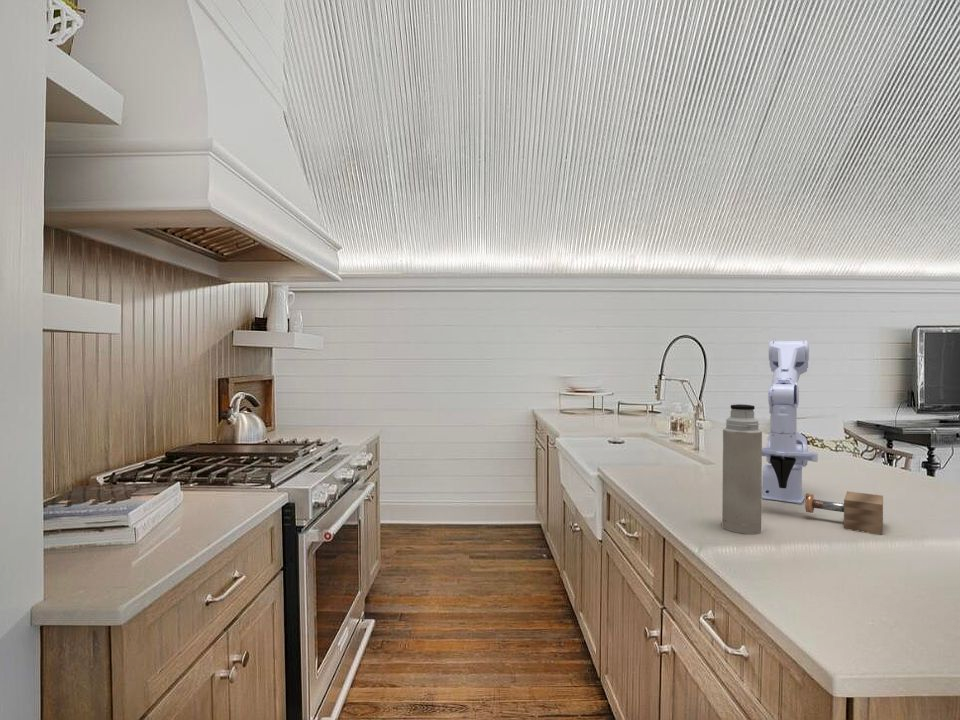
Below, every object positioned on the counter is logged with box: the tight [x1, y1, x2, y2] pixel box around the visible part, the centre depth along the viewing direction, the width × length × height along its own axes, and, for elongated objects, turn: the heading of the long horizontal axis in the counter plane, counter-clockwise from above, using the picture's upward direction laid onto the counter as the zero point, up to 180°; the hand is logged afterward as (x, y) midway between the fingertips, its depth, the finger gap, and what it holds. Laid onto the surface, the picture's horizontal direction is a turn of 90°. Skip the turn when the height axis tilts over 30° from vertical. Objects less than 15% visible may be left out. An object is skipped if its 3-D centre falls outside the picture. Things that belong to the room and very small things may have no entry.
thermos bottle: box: [721, 403, 763, 535], centre depth 125 cm, size 8×8×28 cm
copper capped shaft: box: [804, 493, 844, 514], centre depth 131 cm, size 11×4×4 cm, turn 53°
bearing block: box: [843, 490, 884, 535], centre depth 128 cm, size 7×10×7 cm
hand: (782, 487), depth 137 cm, fingers closed
